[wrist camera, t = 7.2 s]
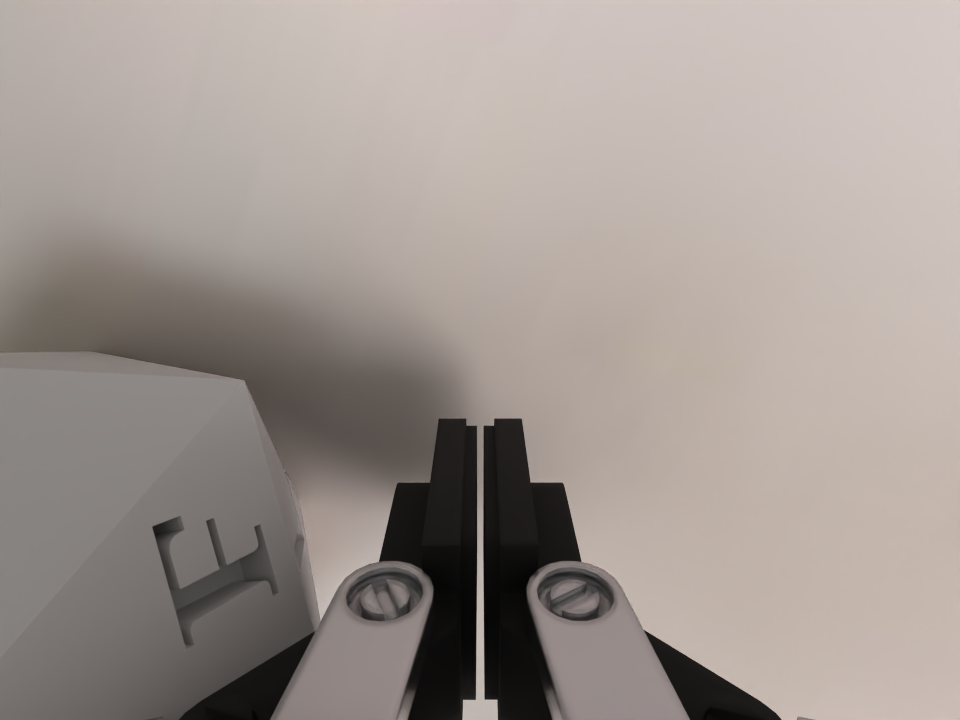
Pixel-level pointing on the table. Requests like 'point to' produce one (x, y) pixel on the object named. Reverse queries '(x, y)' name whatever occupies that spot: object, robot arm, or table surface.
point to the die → (139, 538)
